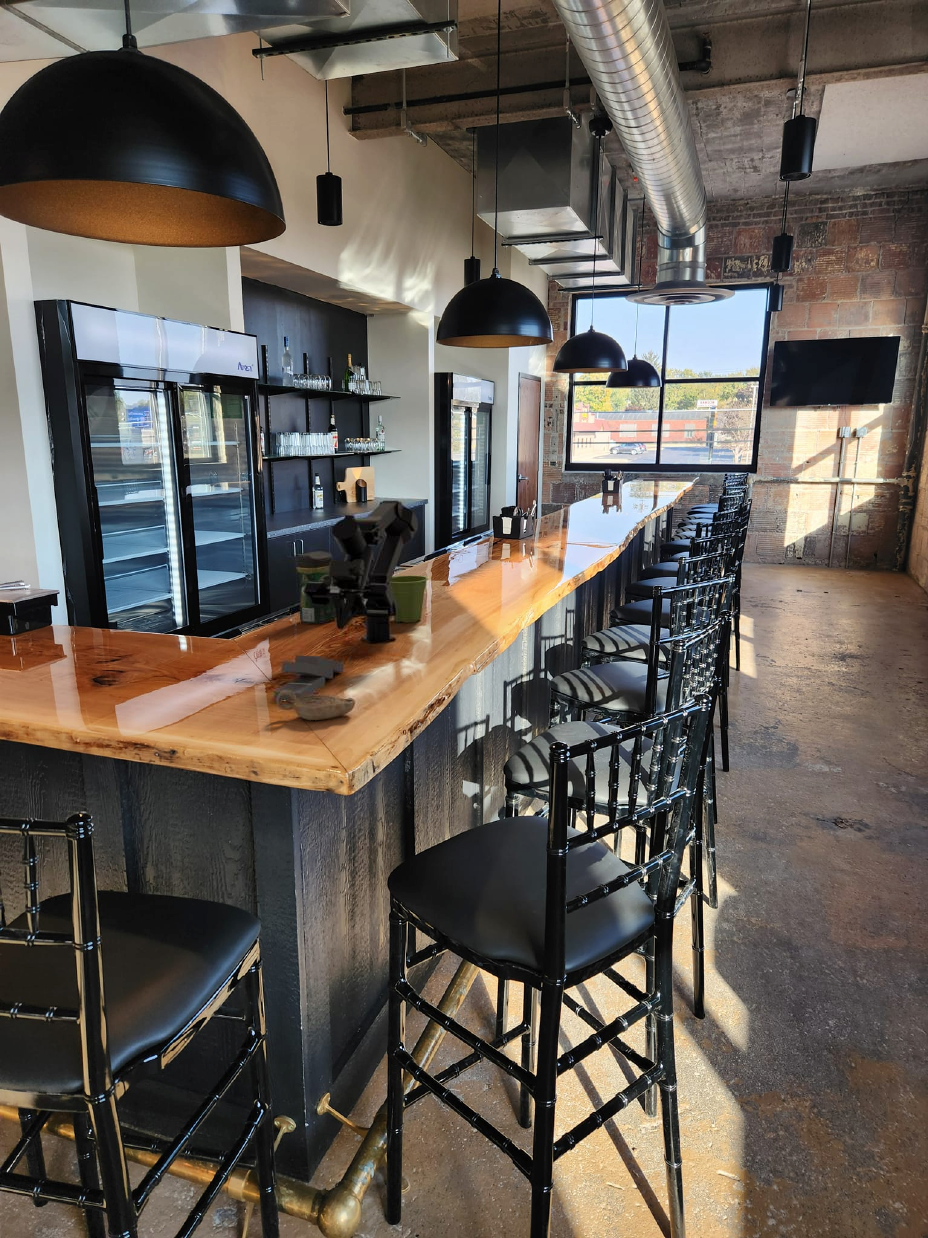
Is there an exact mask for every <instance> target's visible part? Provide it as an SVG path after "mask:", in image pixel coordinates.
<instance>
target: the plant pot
mask: <svg viewBox="0 0 928 1238" xmlns="http://www.w3.org/2000/svg"><path fill="white" fill-rule="evenodd" d="M428 580H429V577H427V576H424V575H397V576H392V579H391V582H390V587H391V590H392V593H393V596H394V598H395V600H396V602H397V608H398V610H397V615H396V616H392V617H393V621H395V622H397V623H400V622H402V623H405V624H408V623H409V624H410V623H416V622H418V621H421V619H422V615H423V605H424V604H423V603H424V598H425V590H426V586H427V581H428Z"/></svg>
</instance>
